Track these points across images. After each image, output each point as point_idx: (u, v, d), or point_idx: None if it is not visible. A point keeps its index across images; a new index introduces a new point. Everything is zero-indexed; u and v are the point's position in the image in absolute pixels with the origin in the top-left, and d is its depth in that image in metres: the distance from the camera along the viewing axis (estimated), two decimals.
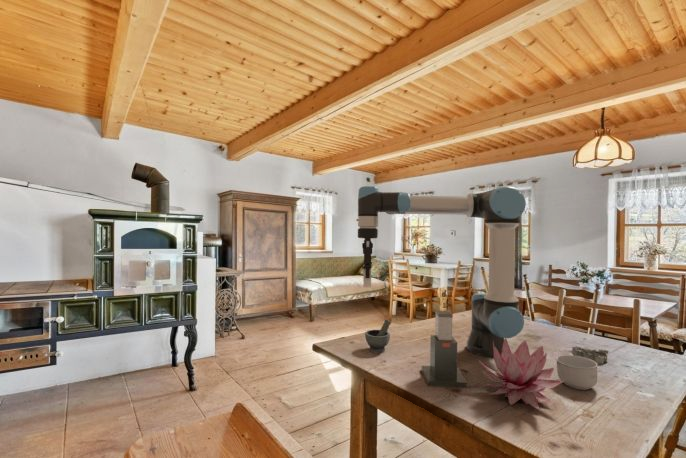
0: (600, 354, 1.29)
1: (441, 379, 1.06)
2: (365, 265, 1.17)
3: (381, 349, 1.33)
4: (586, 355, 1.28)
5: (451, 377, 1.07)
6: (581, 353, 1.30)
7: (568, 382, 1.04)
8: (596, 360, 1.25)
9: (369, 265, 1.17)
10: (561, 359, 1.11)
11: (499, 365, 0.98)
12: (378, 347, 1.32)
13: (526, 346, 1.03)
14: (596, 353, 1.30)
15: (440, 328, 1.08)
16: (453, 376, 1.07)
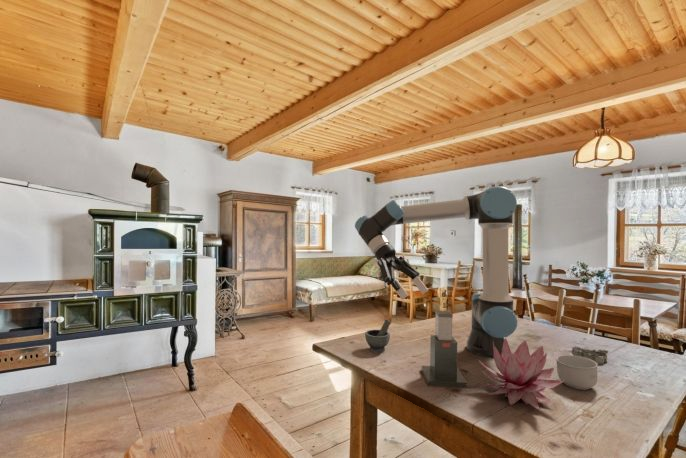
0: (600, 354, 1.29)
1: (441, 379, 1.06)
2: (384, 280, 1.15)
3: (381, 349, 1.33)
4: (586, 355, 1.28)
5: (451, 377, 1.07)
6: (581, 353, 1.30)
7: (568, 382, 1.04)
8: (596, 360, 1.25)
9: (387, 278, 1.14)
10: (561, 359, 1.11)
11: (499, 365, 0.98)
12: (378, 347, 1.32)
13: (526, 346, 1.03)
14: (596, 353, 1.30)
15: (440, 328, 1.08)
16: (453, 376, 1.07)
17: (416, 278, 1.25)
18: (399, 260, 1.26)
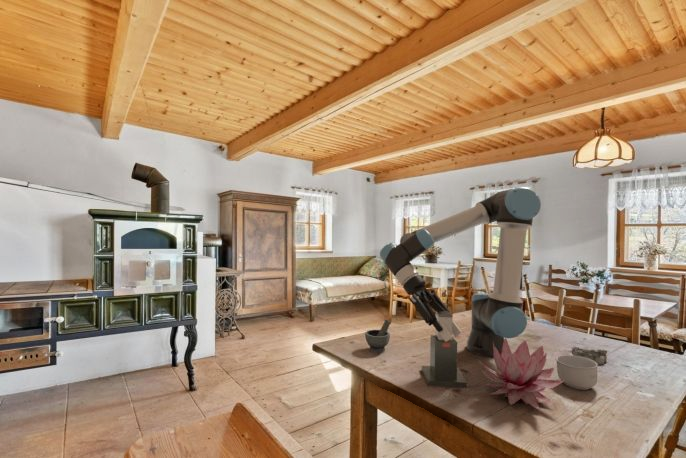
0: (599, 354, 1.29)
1: (441, 379, 1.06)
2: (426, 321, 1.08)
3: (381, 349, 1.33)
4: (587, 356, 1.27)
5: (451, 377, 1.07)
6: (581, 354, 1.29)
7: (568, 382, 1.04)
8: (597, 361, 1.25)
9: (429, 319, 1.07)
10: (561, 359, 1.11)
11: (499, 365, 0.98)
12: (378, 347, 1.32)
13: (526, 346, 1.03)
14: (595, 353, 1.30)
15: None
16: (453, 376, 1.07)
17: None
18: (430, 293, 1.16)
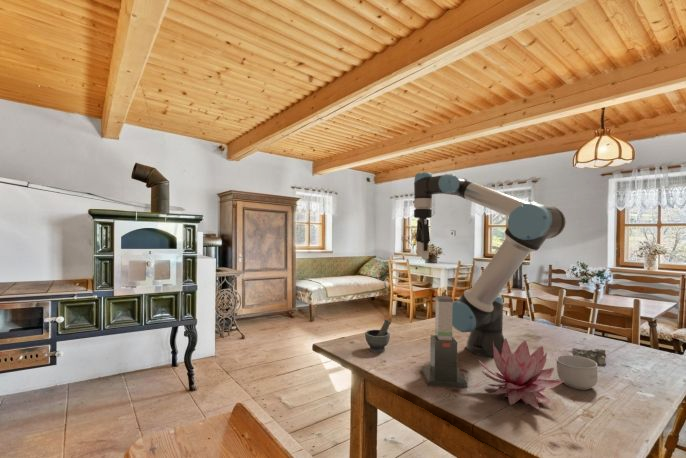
0: (597, 354, 1.29)
1: (441, 379, 1.06)
2: (424, 239, 1.37)
3: (381, 349, 1.33)
4: (589, 357, 1.26)
5: (451, 377, 1.07)
6: (582, 355, 1.28)
7: (568, 382, 1.04)
8: (600, 361, 1.24)
9: (428, 239, 1.37)
10: (561, 359, 1.11)
11: (499, 365, 0.98)
12: (378, 347, 1.32)
13: (526, 346, 1.03)
14: (593, 353, 1.30)
15: (440, 312, 1.08)
16: (453, 376, 1.07)
17: (421, 243, 1.53)
18: None
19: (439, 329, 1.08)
